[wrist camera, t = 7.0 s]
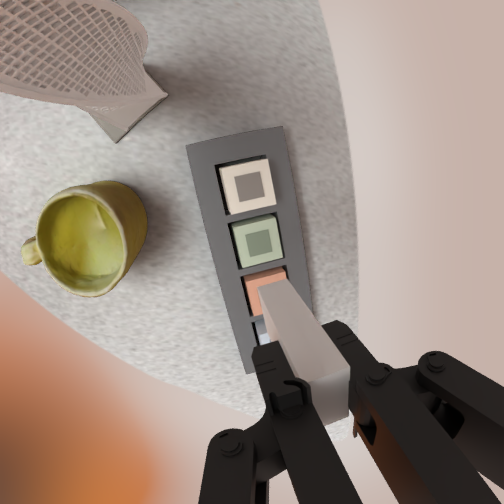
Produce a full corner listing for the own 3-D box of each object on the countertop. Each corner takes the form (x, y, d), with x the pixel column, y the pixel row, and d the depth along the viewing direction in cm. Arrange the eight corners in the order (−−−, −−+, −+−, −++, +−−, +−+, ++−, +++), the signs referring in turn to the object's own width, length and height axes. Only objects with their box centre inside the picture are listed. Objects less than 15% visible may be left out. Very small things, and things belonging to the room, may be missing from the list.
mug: (159, 159, 25) (108, 208, 16) (164, 251, 30) (132, 320, 22) (57, 160, 24) (-6, 203, 16) (73, 240, 30) (28, 295, 22)
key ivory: (218, 168, 26) (221, 168, 23) (260, 159, 27) (267, 158, 24) (227, 209, 27) (231, 215, 25) (268, 199, 28) (276, 204, 25)
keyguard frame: (186, 146, 26) (185, 145, 24) (275, 128, 27) (282, 126, 25) (243, 361, 35) (246, 374, 33) (310, 342, 36) (317, 353, 34)
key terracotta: (241, 270, 31) (246, 282, 28) (277, 261, 31) (285, 272, 29) (249, 303, 32) (254, 316, 29) (283, 293, 33) (291, 306, 30)
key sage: (229, 221, 29) (233, 228, 26) (268, 212, 30) (275, 217, 27) (238, 257, 31) (242, 268, 28) (275, 248, 31) (283, 257, 28)
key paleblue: (254, 320, 32) (259, 335, 29) (288, 310, 32) (297, 324, 29) (260, 347, 33) (266, 363, 30) (293, 338, 33) (301, 353, 30)
